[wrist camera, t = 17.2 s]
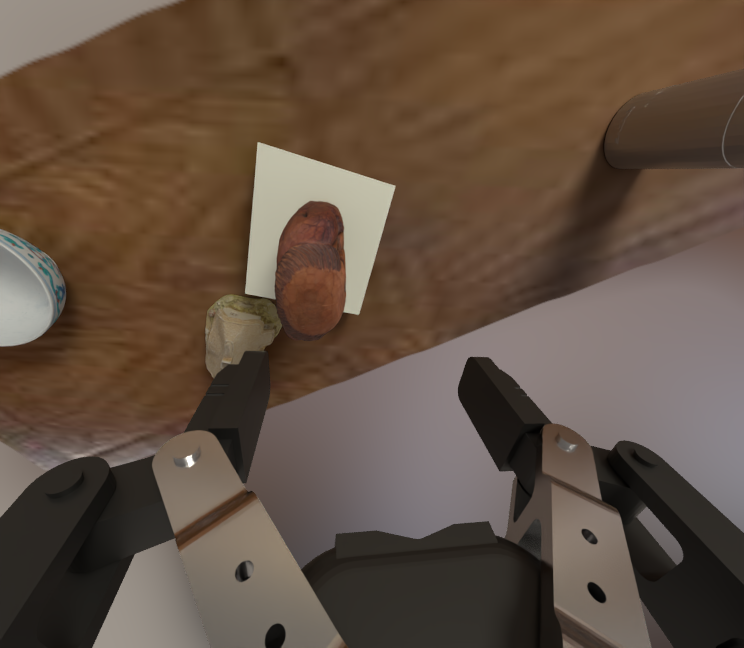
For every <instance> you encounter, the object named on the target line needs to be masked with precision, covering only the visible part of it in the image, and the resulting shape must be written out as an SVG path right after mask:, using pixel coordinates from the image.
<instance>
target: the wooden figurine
mask: <svg viewBox="0 0 744 648" xmlns="http://www.w3.org/2000/svg"><path fill="white" fill-rule="evenodd" d="M274 287H275V290H274V291H275V298H276V299H275V301H276V309H277V314H278V318H279V319H280V321H281V324H282V325H283V328H284V331H285V333H286V334H287V335H288V337H290V338H291V339H293V340H304V341H312V340H318V339H320V338H322V337H323V336H324V335H325V334H326V333H328V332H329V331H330V330H331V329H332V328H334V327H335V326H336V324H337V323H338V322H339V320H340V319H341V316H342V314H343V311H344V307H345V302H346V299H345V298H346V263H345V251H344V225H343V220H342V216H341V214H340V211H339V209H338V208H337V207H336V206H335V205H333V204H331V203H328V202H323V201H309V202H307V203H306V204H304V205H303V206H302V207H301V208H299V209H298V210H297V212H296V213H295V214H294V215H293V216H292V217H291V218H290V220H289V221H288V223H287V224H286V226H285V227H284V229H283V231H282V234H281V236H280V239H279V246H278V253H277V270H276V272H275V286H274Z"/></svg>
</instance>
